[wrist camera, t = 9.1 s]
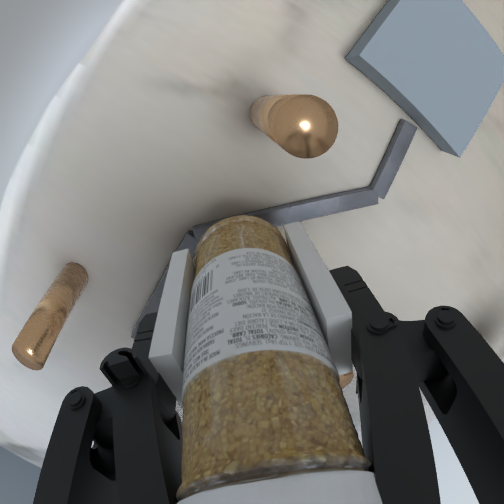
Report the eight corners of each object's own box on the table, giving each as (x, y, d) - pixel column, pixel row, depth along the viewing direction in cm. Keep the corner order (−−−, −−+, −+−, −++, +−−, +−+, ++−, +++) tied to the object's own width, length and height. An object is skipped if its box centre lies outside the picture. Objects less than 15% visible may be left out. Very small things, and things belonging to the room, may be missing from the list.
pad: (441, 150, 18) (459, 157, 16) (344, 58, 15) (359, 55, 13) (492, 64, 14) (510, 66, 13) (410, -28, 11) (427, -35, 10)
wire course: (242, 374, 25) (251, 458, 18) (56, 293, 20) (11, 372, 13) (427, 143, 17) (516, 179, 10) (211, -16, 12) (206, -88, 5)
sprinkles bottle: (247, 308, 17) (288, 578, 5) (175, 263, 15) (135, 576, 3) (307, 247, 15) (437, 532, 4) (234, 190, 14) (297, 578, 2)
